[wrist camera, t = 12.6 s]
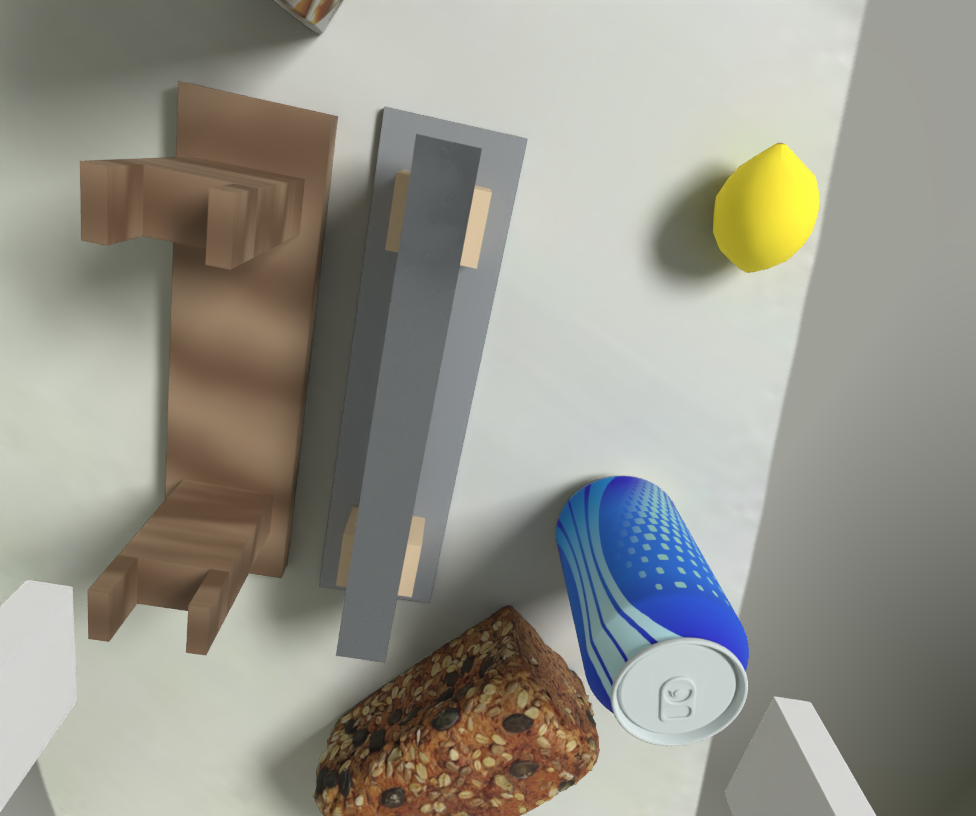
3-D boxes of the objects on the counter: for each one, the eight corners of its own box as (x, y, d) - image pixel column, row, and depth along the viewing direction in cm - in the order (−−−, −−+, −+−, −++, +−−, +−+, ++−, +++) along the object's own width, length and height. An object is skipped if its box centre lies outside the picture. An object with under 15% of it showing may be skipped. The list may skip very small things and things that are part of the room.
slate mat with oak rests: (385, 107, 36) (375, 102, 33) (526, 138, 37) (533, 137, 33) (320, 582, 48) (307, 618, 44) (429, 598, 49) (426, 636, 45)
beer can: (529, 533, 47) (557, 714, 32) (604, 444, 44) (672, 595, 29) (620, 588, 49) (686, 783, 34) (697, 506, 46) (804, 678, 31)
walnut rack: (189, 83, 36) (46, 52, 24) (337, 116, 37) (272, 102, 24) (172, 547, 46) (67, 688, 34) (287, 565, 47) (223, 709, 35)
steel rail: (422, 135, 33) (416, 133, 30) (480, 148, 34) (482, 148, 30) (347, 612, 44) (335, 655, 40) (392, 619, 44) (384, 662, 41)
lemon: (774, 262, 41) (812, 291, 36) (688, 255, 40) (715, 284, 36) (811, 140, 37) (858, 155, 33) (717, 132, 37) (751, 146, 32)
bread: (410, 786, 56) (398, 914, 47) (323, 712, 53) (292, 833, 43) (592, 678, 52) (618, 794, 43) (510, 591, 49) (520, 696, 40)
